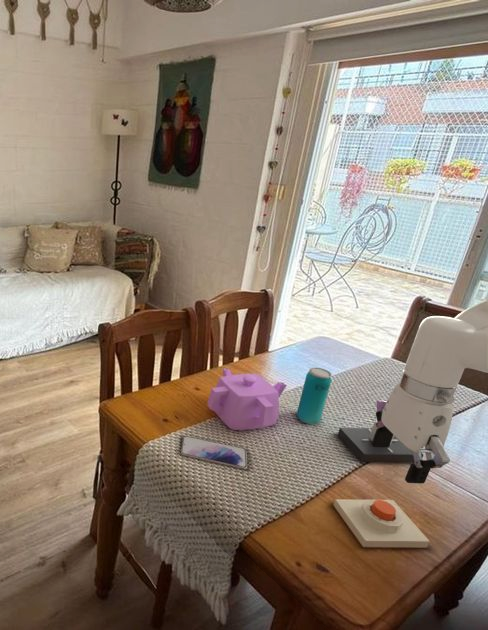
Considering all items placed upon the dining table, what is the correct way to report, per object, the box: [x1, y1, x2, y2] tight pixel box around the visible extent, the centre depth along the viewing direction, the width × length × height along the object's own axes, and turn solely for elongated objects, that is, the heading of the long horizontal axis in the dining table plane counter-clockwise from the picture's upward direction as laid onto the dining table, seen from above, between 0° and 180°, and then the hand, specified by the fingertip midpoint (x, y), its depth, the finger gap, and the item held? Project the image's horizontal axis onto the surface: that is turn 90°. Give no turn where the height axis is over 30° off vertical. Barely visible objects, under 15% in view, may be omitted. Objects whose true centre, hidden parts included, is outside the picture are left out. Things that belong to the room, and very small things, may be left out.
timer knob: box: [370, 418, 394, 445], centre depth 106 cm, size 4×4×5 cm
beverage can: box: [296, 367, 332, 425], centre depth 116 cm, size 6×6×15 cm
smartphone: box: [180, 435, 248, 470], centre depth 106 cm, size 7×1×15 cm
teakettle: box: [206, 368, 288, 431], centre depth 118 cm, size 17×17×12 cm
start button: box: [371, 499, 396, 521], centre depth 85 cm, size 4×4×2 cm
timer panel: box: [337, 427, 425, 464], centre depth 107 cm, size 14×10×3 cm
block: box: [333, 498, 430, 549], centre depth 86 cm, size 12×10×4 cm
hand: (396, 463), depth 83 cm, fingers open, 9 cm apart
